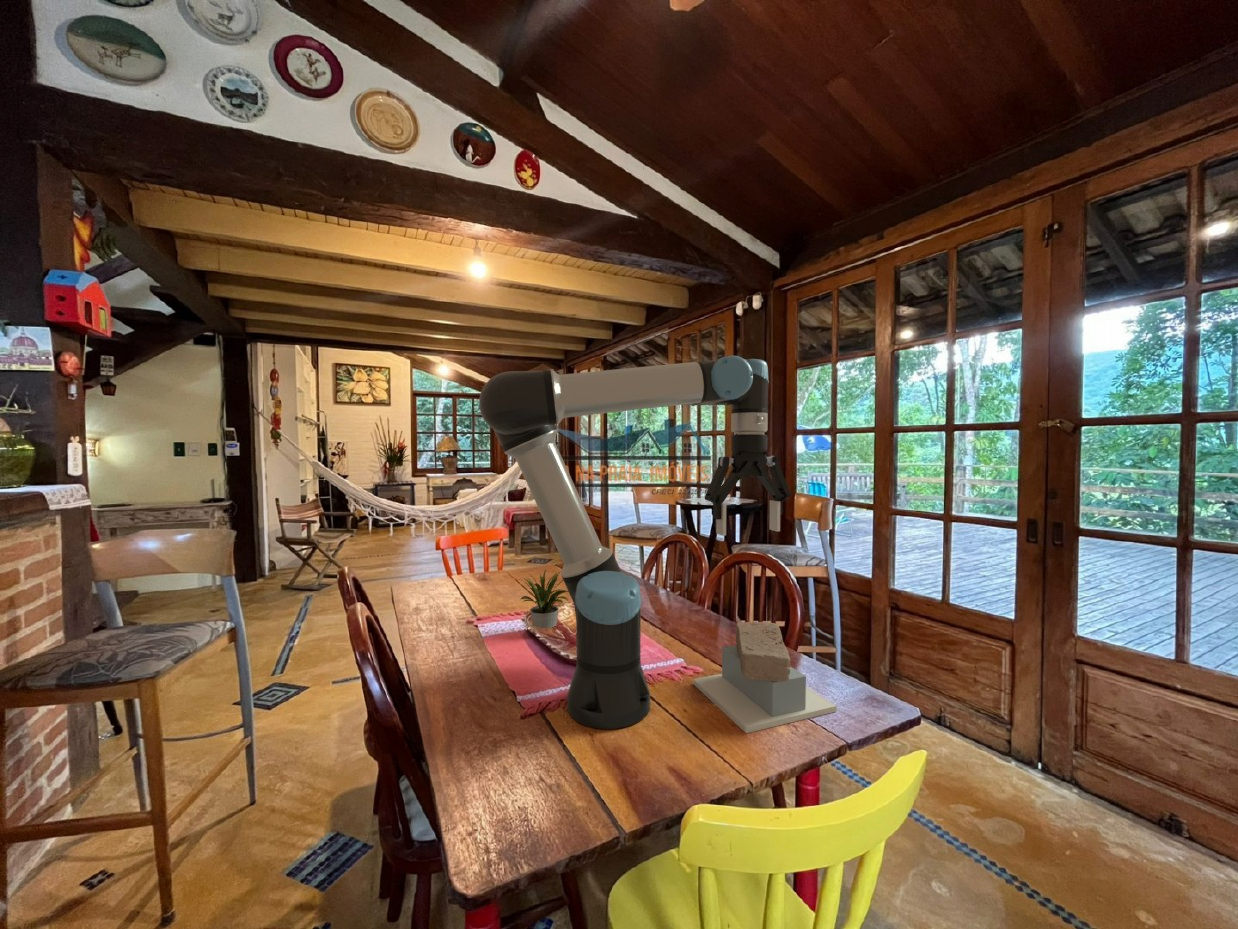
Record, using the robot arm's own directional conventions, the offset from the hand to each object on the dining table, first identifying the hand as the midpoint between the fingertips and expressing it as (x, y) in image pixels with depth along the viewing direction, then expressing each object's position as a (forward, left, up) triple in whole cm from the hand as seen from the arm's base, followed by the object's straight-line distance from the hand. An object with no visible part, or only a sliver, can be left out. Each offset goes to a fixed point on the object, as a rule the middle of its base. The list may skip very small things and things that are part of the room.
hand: (748, 532), depth 107 cm
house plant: (-39, +32, -29) cm, 58 cm away
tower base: (-6, -13, -29) cm, 32 cm away
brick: (-6, -13, -22) cm, 26 cm away
